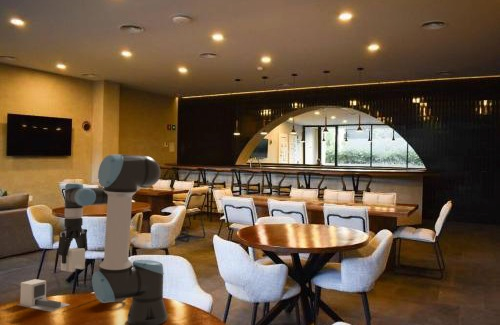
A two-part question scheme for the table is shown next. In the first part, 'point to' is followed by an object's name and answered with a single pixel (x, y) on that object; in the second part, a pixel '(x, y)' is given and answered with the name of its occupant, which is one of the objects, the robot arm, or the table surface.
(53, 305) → the board
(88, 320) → the table surface
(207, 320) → the table surface
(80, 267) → the jaw block
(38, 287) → the fixed jaw
